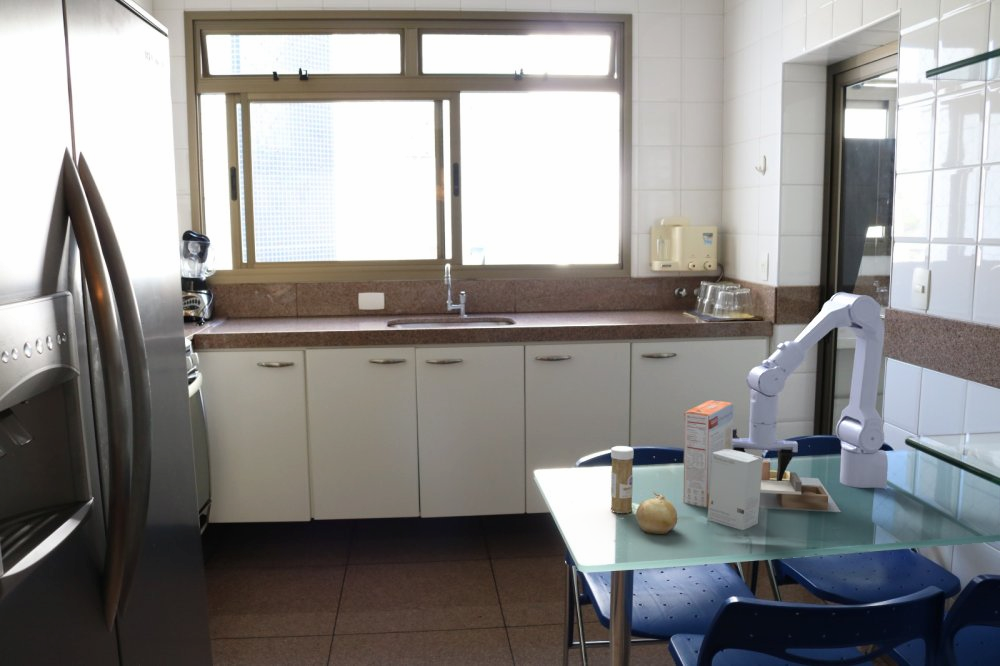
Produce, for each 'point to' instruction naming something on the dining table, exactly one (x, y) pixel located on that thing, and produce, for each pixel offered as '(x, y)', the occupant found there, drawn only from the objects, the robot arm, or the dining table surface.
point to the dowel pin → (766, 470)
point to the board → (770, 498)
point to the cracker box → (704, 446)
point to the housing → (805, 499)
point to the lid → (782, 485)
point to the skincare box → (735, 488)
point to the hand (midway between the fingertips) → (760, 481)
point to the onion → (656, 515)
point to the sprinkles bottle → (621, 479)
